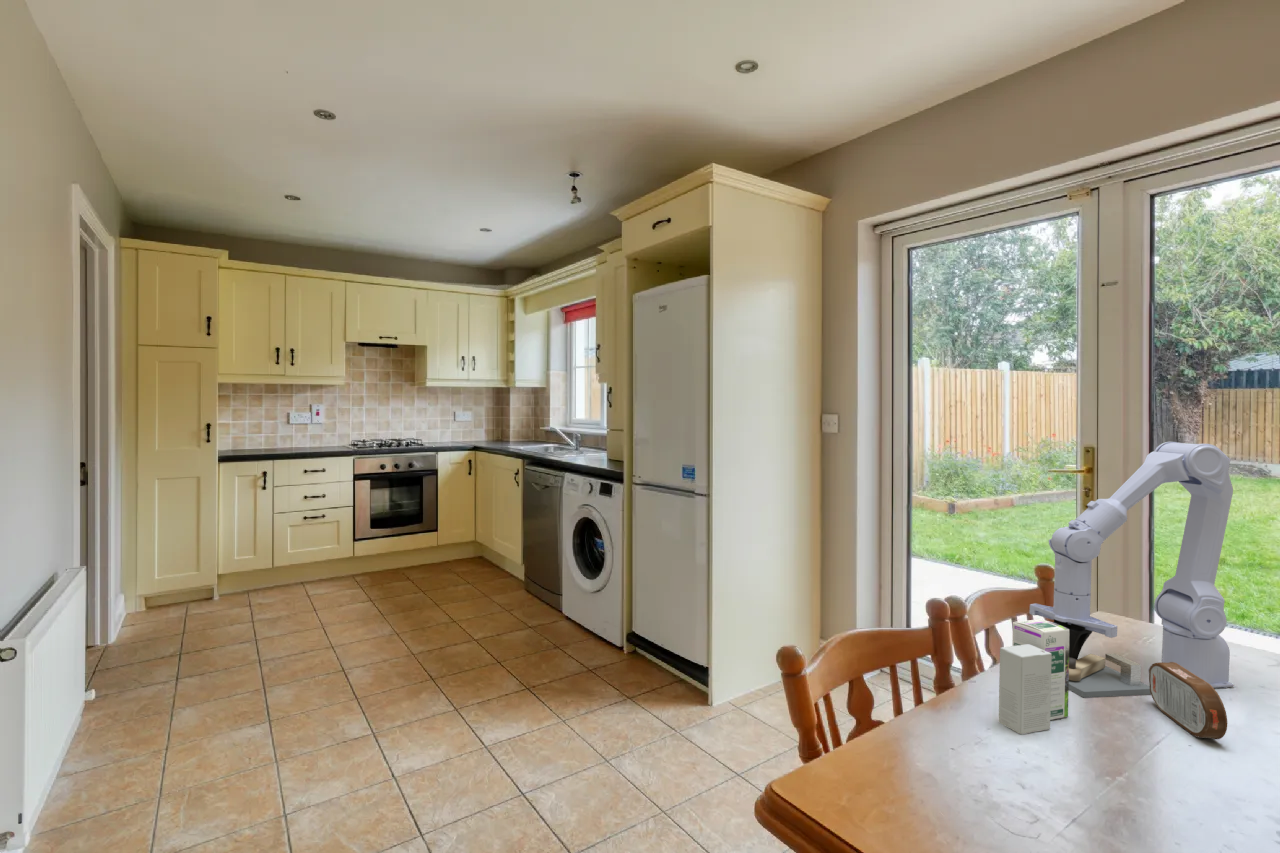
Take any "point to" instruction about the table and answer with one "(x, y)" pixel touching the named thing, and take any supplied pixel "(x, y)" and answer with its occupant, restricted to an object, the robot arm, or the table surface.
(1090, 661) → the beech link
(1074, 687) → the slate board
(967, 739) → the table surface
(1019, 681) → the skincare box
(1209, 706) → the tin
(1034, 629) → the syrup box
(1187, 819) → the table surface
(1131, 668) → the steel keeper
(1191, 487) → the robot arm
